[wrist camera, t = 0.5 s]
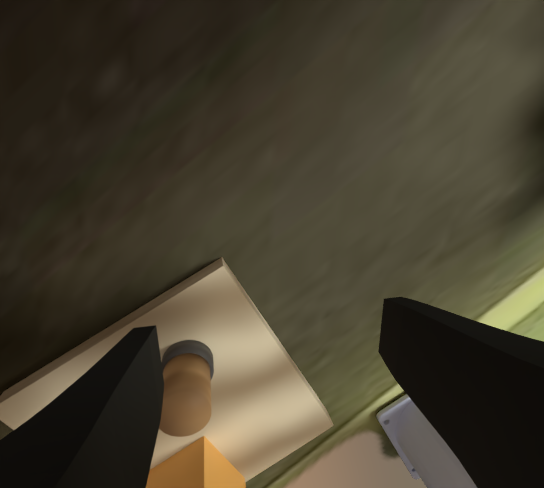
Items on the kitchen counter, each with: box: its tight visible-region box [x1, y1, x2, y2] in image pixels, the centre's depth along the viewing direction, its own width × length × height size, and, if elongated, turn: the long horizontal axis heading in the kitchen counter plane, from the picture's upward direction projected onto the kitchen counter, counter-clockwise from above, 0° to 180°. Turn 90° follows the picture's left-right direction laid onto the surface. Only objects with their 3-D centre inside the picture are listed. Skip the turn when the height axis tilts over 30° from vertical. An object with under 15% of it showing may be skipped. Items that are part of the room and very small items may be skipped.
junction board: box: [0, 257, 334, 482], centre depth 18 cm, size 15×15×6 cm
